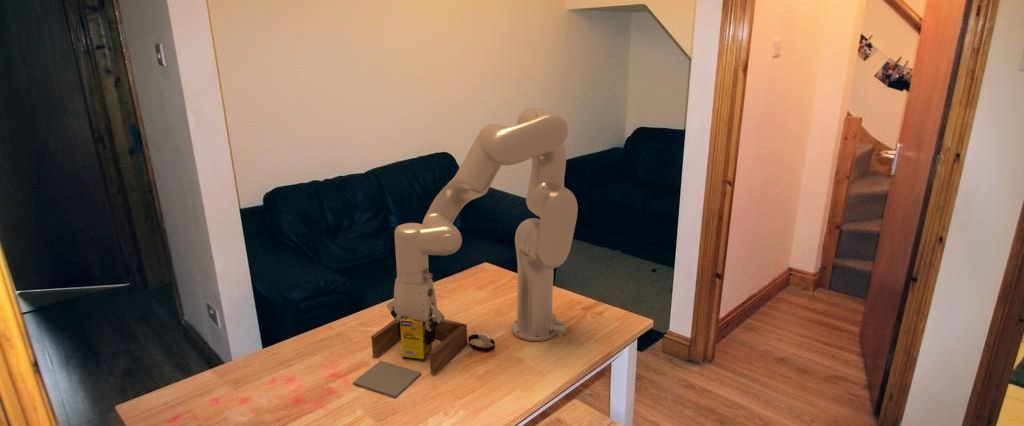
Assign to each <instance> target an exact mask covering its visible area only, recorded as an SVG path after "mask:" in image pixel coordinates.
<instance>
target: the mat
mask: <svg viewBox="0 0 1024 426" xmlns="http://www.w3.org/2000/svg"><path fill="white" fill-rule="evenodd" d="M421 376H422V372H421V371H418V370H414V369H411V368H407V367H405V366H401V365H397V364H394V363H391V362H387V361H384V360H379V361H378V362H377V363H375V364H374V365H373V366H372V367H370V368H369V369H368V370H367V371H365V372H364V373H363V374H361V375H360V376H359V377H358V378H356V379H355V380H354V381H352V385H353V386H356V387H360V388H363V389H366V390H369V391H372V392H375V393H379V394H380V395H384V396H387V397H389V398H392V399H397V398H398V397H399V396H400V395H401V394H402V393H403V392H404V391H406V389H408V388H409V387H411V385H412V384H413V383H414V382H415V381H417V380H418V378H420V377H421Z"/></svg>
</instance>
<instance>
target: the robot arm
mask: <svg viewBox="0 0 1024 426" xmlns="http://www.w3.org/2000/svg"><path fill="white" fill-rule="evenodd" d="M518 115H519V116H518V118H517V120H516V121H517V122H516V125H514V126H510V127H508V126H505V125H501V124H498V123H497V124H496V123H489V124H487V125H485V126H484V127H482V129H480V130H479V132H478V134H477V136H476V138H475V139H474V141H473V143H472V144H471V147H470V149H469V150H468V152H467V154H466V156H465V157H464V160H463V161H462V163H461V165H460V166H459V168H458V170H457V172H456V173H455V175H454V177H453V178H452V179H451V180H449V182H447V184H446V185H445V186H444V187H443V188H442V189H441V190H440V191H439V193H437V195H436V196H435V198H434V199H433V201H432V203H431V204H430V206H429V209H428V210H427V212H426V214H425V216H424V218H423V221H422V223H417V222H406V223H402V224H400V225H398V226H396V228H395V229H394V245H395V246H394V247H395V249H394V250H395V260H396V262H395V263H396V264H395V265H396V278H395V280H394V287H393V300H391V301H390V302H388V303H387V304H386V307H387V309H388V311H389V312H390V315H391V316H392V317H393V318H394V320H395V322H396V323H397V330H398V337H399V338H401V328H400V320H401V319H402V317H407V318H411V319H415V320H419V321H423V322H424V325H425V327H426V329H427V330H426V331H425V343H426V345H428V346H429V345H430V344H431V343H433V342H435V341H436V340H435V327H436V326H438V325H439V324H440V323H441V322H442V320H443V319H445V317H446V316H445V314H444V313H442V312H441V311H440V310H439V309H438V303H437V295H436V289H435V285H434V281H433V280H432V278H433V273H430V271H429V256H448V255H453V254H455V253H456V252H458V250H459V249H460V248H461V246H462V243H463V237H462V235H461V232H460V231H459V229H458V228H457V227H456V226H455V225H454V224H453V223H454V221H455V219H456V218H457V216H458V215H459V213H460V211H461V210H462V209H463V208H464V206H466V204H468V203H469V202H471V201H472V200H475V199H477V198H481V197H482V196H484V195H486V194H487V193H488V191H489V189H490V186H492V183H493V181H494V180H495V178H496V176H497V174H498V172H499V171H500V169H501V167H502V166H507V167H508V166H512V165H516V164H521V163H523V162H526V161H528V160H531V159H532V163H531V168H530V169H531V171H530V176H529V180H528V187H527V192H526V199H525V201H526V206H527V209H528V210H529V211H530V212H532V213H533V215H535V216H537V217H538V218H535V217H533V218H527V219H525V220H524V221H521V222H520V224H519V225H518V227H517V228H516V231H515V236H514V245H515V252H516V253H515V254H516V260H517V298H516V299H517V305H516V306H517V307H516V308H517V309H516V310H517V314H516V315H517V317H516V318H517V319H515V320H514V321H513V322H512V324H511V332H512V333H513V335H514V336H516V337H517V338H519V339H520V340H523V341H524V340H525V341H529V342H540V341H541V342H543V341H546V340H547V341H548V340H550V339H552V338H553V337H555V336H556V335H557V334H558V333H561V334H566V331H567V326H566V325H565V324H566V322H564V321H560V320H559V321H558V319H556V314H555V313H553V299H554V297H553V295H554V290H553V289H554V269H555V268H557V267H561V265H562V264H564V262H565V261H566V260H567V259H568V257H569V254H570V251H571V247H572V243H573V238H574V233H575V228H576V225H577V218H578V212H579V211H578V210H579V209H578V202H577V198H576V197H575V196H576V195H574V193H573V192H572V190H570V189H568V188H567V187H566V186H564V180H565V174H566V166H567V151H566V147H565V144H564V143H565V142H566V139H567V138H568V134H569V126H568V124H567V121H566V119H565V118H564V117H563V116H561V115H560V114H558V113H555V112H552V111H550V110H549V111H548V110H545V109H541V108H536V107H535V108H533V107H532V108H531V107H529V108H526V109H524V110H523V111H521V113H520V114H518ZM433 316H434V317H436V320H435V319H434V318H433ZM428 320H429V321H430V323H431V325H430V323H429V322H428Z"/></svg>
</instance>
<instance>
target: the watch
mask: <svg viewBox="0 0 1024 426" xmlns="http://www.w3.org/2000/svg"><path fill="white" fill-rule="evenodd" d="M473 340H480V342H481V343H483V344H485V343H486V345H489V344H491V346H487V347H486V346H485V347H484V346H483V347H482V346H480V345H475V344H473V343H472V342H471V341H473ZM467 343H468V346H469V347H470V348H471V349H472V350H475V351H478V352H482V351H483V353H489V352H493V351H494V350H495V348H496V342H495V340H494V338H493V339H492V338H491V337H490V335H488V334H487V333H485V332H483V333H480V334H471V335H469V336H467Z"/></svg>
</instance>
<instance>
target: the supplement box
mask: <svg viewBox="0 0 1024 426" xmlns="http://www.w3.org/2000/svg"><path fill="white" fill-rule="evenodd" d="M428 322H429V323H430V321H429V320H428ZM430 325H431V323H430ZM400 328H401V340H400V342H401V343H400V344H401V356H402V357H401V358H402V359H403V360H407V361H408V360H409V361H416V362H425V360H426V359H427V358H428V356H429V355H430V352H431V351H432V350H433V346H432V345H433V344H432V343H433V342H432V343H431V344H430V345H429V346H428V345H426V343H425V331H426V330H427V329H426V327H425V325H424V322H423V321H419V320H415V319H411V318H407V317H402V319H401V320H400Z"/></svg>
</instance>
